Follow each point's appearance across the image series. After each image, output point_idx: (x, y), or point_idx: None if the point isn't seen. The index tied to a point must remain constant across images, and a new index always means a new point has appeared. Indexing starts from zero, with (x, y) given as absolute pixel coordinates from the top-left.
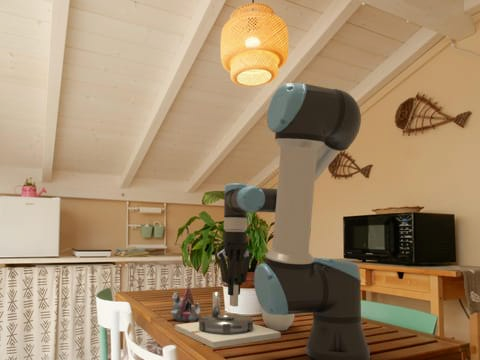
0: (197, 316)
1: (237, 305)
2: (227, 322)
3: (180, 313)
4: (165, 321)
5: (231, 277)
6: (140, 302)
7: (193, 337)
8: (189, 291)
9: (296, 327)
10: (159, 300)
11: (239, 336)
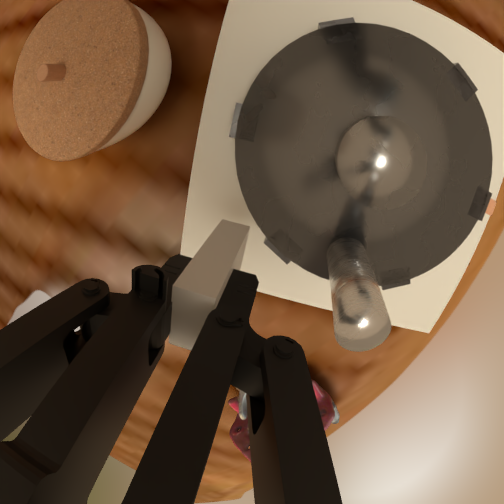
0: None
1: (225, 220)
2: (435, 100)
3: (331, 398)
4: (345, 402)
5: (231, 368)
6: (232, 490)
7: None
8: None
9: None
10: None
11: (427, 27)
